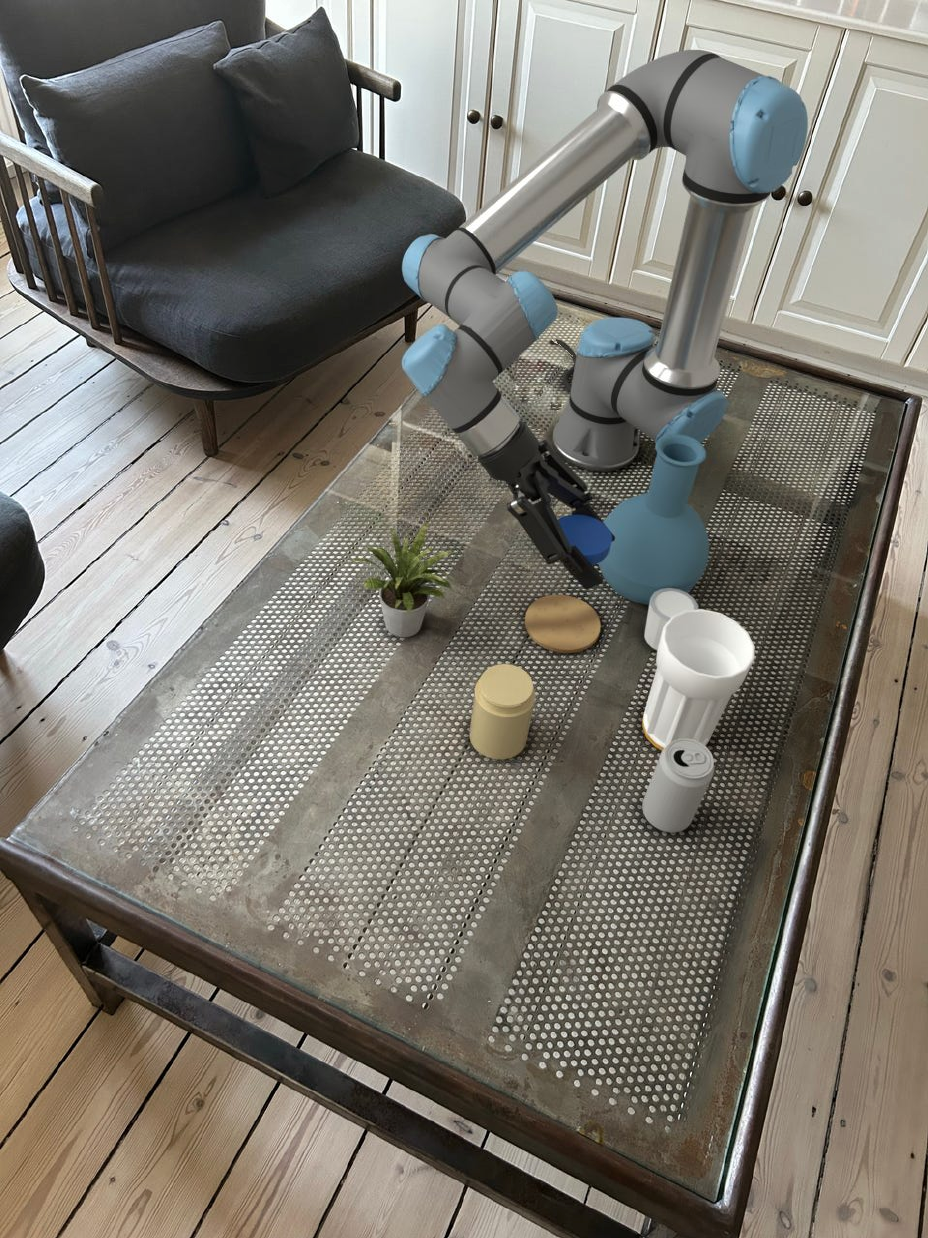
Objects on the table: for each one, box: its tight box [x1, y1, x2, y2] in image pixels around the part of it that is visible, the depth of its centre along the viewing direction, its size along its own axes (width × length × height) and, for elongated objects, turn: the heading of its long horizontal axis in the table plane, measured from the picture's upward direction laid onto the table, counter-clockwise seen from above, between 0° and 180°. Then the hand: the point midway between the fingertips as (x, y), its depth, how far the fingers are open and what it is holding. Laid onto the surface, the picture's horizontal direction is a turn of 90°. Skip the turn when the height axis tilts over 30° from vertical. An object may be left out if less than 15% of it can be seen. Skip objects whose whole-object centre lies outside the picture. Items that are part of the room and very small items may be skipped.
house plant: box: [345, 520, 459, 638], centre depth 134 cm, size 14×14×16 cm
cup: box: [641, 608, 756, 752], centre depth 125 cm, size 11×11×17 cm
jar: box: [468, 663, 537, 760], centre depth 125 cm, size 8×8×11 cm
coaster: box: [524, 594, 602, 654], centre depth 143 cm, size 11×11×1 cm
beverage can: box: [641, 738, 715, 833], centre depth 118 cm, size 6×6×12 cm
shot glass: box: [644, 588, 699, 651], centre depth 140 cm, size 7×7×7 cm
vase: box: [597, 434, 710, 606], centre depth 142 cm, size 16×16×25 cm
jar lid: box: [557, 514, 612, 566], centre depth 131 cm, size 8×8×2 cm
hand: (600, 563), depth 133 cm, fingers closed on jar lid, 8 cm apart
